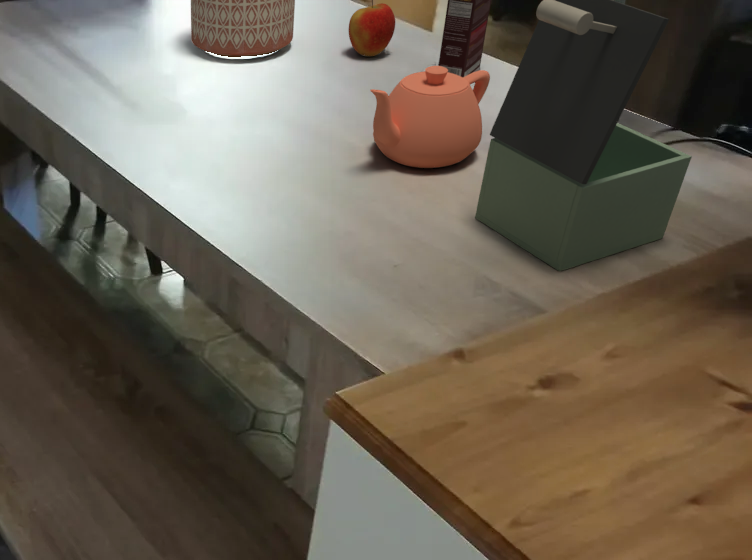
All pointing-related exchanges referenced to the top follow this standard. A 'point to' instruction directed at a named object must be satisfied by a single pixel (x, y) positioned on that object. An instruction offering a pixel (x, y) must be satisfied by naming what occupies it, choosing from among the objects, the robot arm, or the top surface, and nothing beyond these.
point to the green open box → (583, 199)
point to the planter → (242, 26)
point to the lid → (576, 81)
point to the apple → (371, 29)
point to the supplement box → (464, 36)
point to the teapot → (430, 118)
